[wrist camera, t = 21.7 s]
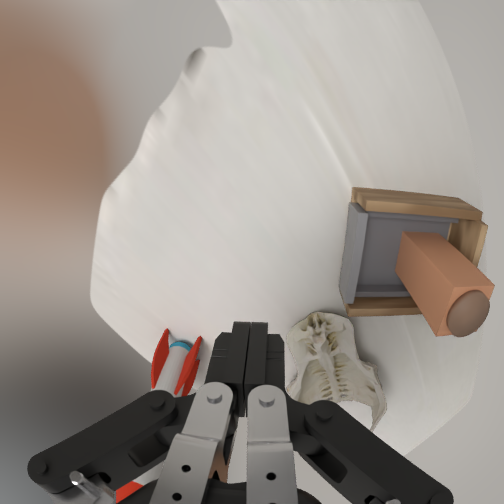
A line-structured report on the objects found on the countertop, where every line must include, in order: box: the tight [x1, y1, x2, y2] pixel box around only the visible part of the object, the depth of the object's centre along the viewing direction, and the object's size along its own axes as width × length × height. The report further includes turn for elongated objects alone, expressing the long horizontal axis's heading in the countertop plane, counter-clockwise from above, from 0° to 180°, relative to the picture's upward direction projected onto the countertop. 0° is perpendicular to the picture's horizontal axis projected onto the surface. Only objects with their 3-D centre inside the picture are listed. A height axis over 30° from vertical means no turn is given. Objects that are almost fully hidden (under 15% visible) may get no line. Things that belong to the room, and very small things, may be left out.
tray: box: [339, 202, 459, 304], centre depth 30 cm, size 10×13×4 cm
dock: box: [340, 187, 488, 317], centre depth 30 cm, size 13×14×7 cm
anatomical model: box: [286, 312, 387, 432], centre depth 39 cm, size 15×9×25 cm
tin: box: [395, 231, 495, 337], centre depth 25 cm, size 5×5×13 cm
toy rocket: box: [116, 329, 202, 503], centre depth 29 cm, size 6×6×30 cm
